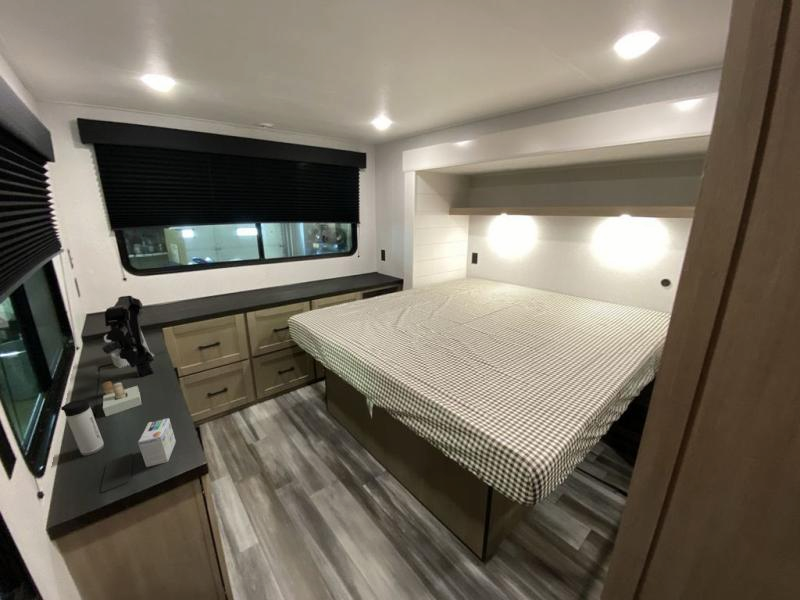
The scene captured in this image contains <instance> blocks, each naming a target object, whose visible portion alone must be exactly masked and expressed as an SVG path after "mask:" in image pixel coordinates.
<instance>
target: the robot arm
mask: <svg viewBox="0 0 800 600" xmlns="http://www.w3.org/2000/svg"><path fill="white" fill-rule="evenodd" d="M143 307H144V306H143V303H142V301H141V300H140V299H138V298H135V297H133V296H132V295H123V296H119V297H118V300H117V301H116V303H115V304H114V306H110V307H107V308H106V310H105V311H104V319H105V320H104V322H105V323H104V324H105V327H110V330H109V331H108V332H107V336H106V338H107V340H111V342H109V343H107V342H106V343H105V344H103V345H102V346H101V350H102V351H103V353H105V354H106V355H108V354H109V355H110V354H111V353H113V352H115V350H117V349H118V350H119V351H120V352H119V356H120V358H121V359H126V360H127V361H128V363H129V364H130V365H129V366H130V367H131V369H132V368H136V370H137V372H136V374H137V378H141V377H144V376H148V375H152V374H154V369H153V367H151V366H152V365H151V363H152V362H154V357H152V355H151V353H152V352H151V351H150V350H149V351H150V352H151V353H150V352H149V351H148V349H147V348H146V347H145V346H144V345H143V341H142V334H143V333H142V334H141V331H142V327H141V323H140V317H141V316H142V313H143V309H144V308H143Z"/></svg>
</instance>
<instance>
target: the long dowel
mask: <svg viewBox="0 0 800 600" xmlns="http://www.w3.org/2000/svg"><path fill="white" fill-rule="evenodd" d="M112 387H113V390H114V393H115V396H116V399H117V400H118V399H121V398H125V397H126V395H125V392H124V390H125V389H124V386H123V383H122V382H117V383H114V384H112Z"/></svg>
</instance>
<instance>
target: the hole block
mask: <svg viewBox="0 0 800 600" xmlns="http://www.w3.org/2000/svg"><path fill="white" fill-rule="evenodd" d="M124 392H125V395H126V397H125V398H121V399H118V400H117V399H116V396H115V393H111V394H108V395H106V394H105V395H103V397H102V399H103V400H102V410H103V412H104V415H105V417H108V416H111V415H115V414H118V413H121V412H123V411H126V410H129V409H132V408H135V407H138V406H142V399H141V398H142V397H141V392H140V389H139V386H138V385H136V386H132V387H128V388H125V389H124Z"/></svg>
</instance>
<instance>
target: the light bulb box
mask: <svg viewBox="0 0 800 600" xmlns="http://www.w3.org/2000/svg"><path fill="white" fill-rule="evenodd" d="M176 442H177V440H176V438H175V434H174V430H173V428H172V424H171V420H170V418H168V417H167V418H163V419H158V420H155V421H149V422H148V423H147V424H146V426H145V429H144V431H143V432H142V434H141V436H140V438H139V440H138V441H137V444H138V447H139V450H140V453H141V455H142V456H141V457H143V461H144V464H145V467H146V468H149V467H153V466H156V465H161V464H164V463H168V462H169V460H170V457H171V455H172V452H173V450H174V447H175V445H176Z"/></svg>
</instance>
